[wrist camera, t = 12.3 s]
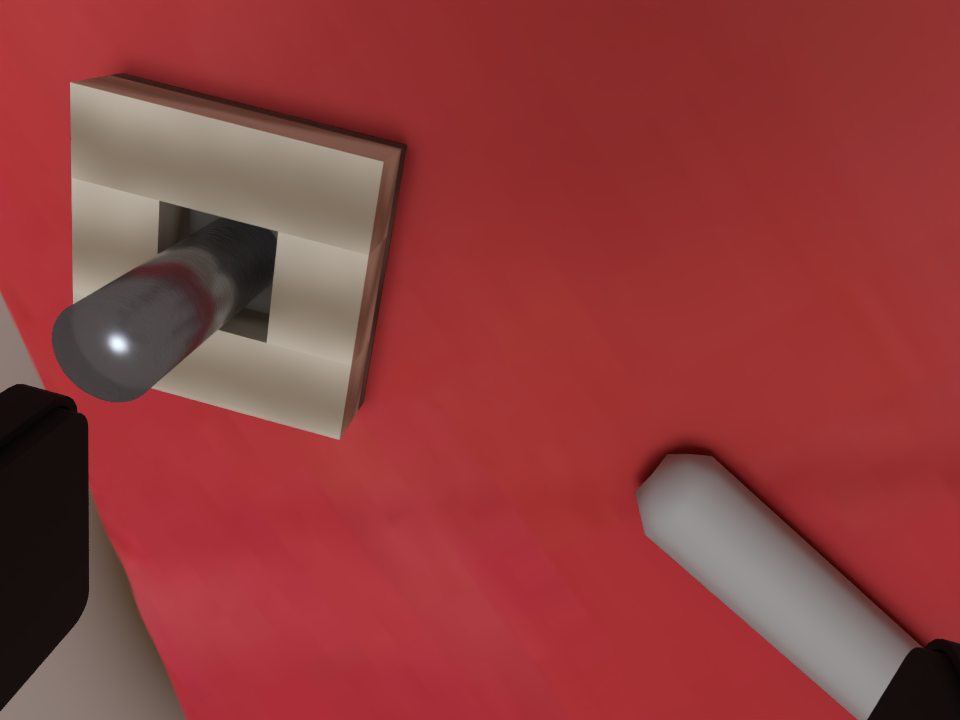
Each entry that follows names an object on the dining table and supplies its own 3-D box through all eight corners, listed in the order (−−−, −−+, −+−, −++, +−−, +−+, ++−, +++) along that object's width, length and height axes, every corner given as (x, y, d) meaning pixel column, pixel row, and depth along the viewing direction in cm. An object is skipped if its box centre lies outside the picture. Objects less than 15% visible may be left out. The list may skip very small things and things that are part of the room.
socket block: (122, 73, 38) (69, 82, 35) (406, 144, 38) (383, 161, 34) (118, 336, 45) (74, 366, 41) (363, 402, 44) (339, 439, 40)
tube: (604, 530, 40) (935, 816, 44) (682, 491, 37) (1036, 806, 41) (629, 458, 44) (932, 726, 48) (702, 415, 41) (1024, 709, 44)
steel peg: (206, 204, 39) (50, 289, 29) (285, 224, 39) (157, 317, 28) (201, 280, 41) (53, 386, 30) (277, 299, 41) (154, 414, 30)
